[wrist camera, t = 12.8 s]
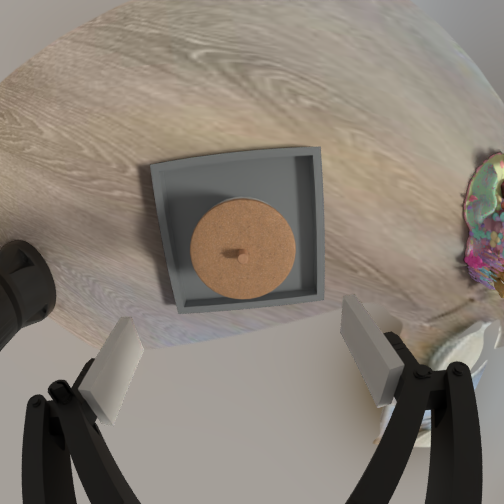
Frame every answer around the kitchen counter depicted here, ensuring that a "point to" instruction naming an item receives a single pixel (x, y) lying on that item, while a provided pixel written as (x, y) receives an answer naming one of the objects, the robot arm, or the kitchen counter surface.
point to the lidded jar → (242, 248)
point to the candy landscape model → (486, 223)
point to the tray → (243, 185)
